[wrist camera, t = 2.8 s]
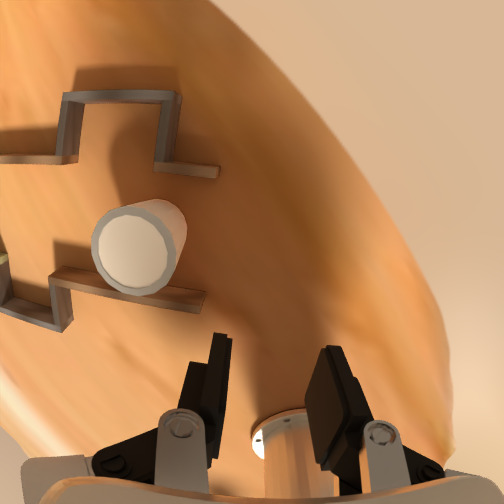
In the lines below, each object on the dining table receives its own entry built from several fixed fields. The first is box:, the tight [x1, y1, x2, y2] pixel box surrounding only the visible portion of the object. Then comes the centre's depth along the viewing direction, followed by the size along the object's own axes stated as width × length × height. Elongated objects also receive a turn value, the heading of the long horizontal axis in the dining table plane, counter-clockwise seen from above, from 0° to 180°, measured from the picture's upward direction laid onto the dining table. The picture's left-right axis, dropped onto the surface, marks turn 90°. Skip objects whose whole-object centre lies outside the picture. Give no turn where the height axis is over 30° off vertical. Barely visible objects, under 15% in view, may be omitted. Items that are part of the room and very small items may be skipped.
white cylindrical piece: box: [91, 199, 187, 296], centre depth 24 cm, size 7×7×7 cm
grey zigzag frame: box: [0, 90, 220, 333], centre depth 25 cm, size 32×24×4 cm
